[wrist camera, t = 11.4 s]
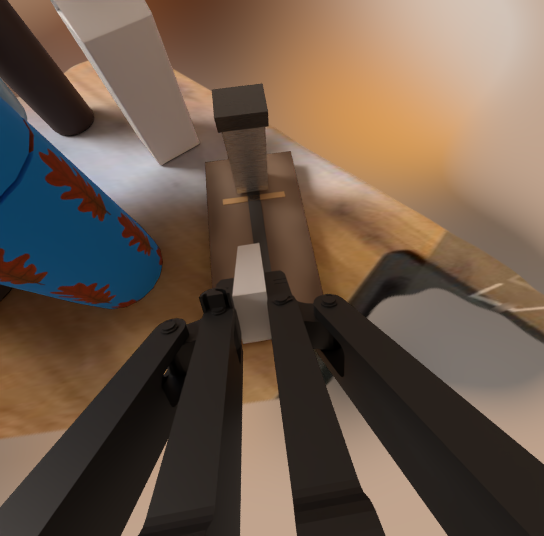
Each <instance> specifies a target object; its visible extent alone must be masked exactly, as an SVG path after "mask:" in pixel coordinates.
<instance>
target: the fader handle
mask: <svg viewBox="0 0 544 536" xmlns="http://www.w3.org/2000/svg"><path fill="white" fill-rule="evenodd" d="M212 98H213V110H214V119H215V123H216V127H217V130H218V133H220V132H222V135H223V139H224V143H225V147H226V151H227V155H228V159H229V163H230V166H231V170H232V174H233V178H234V182H235V186H236V190H237V194H239V193H246V192H254V191H261V190H268V172H267V154H266V137H265V127H267V126H268V109H267V104H266V99H265V94H264V89H263V84H255V85H247V86H238V87H231V88H222V89H214V90H212Z"/></svg>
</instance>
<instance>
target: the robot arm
mask: <svg viewBox="0 0 544 536" xmlns="http://www.w3.org/2000/svg"><path fill="white" fill-rule="evenodd" d="M0 97H1V98H2V99H3V100H4V101H6V102H7V103H8V104H9V105H10V106H11V107H12V108H13V109H14V110H15V111H16V112H17V113H19V114H20V116H21V117H22V118H24V119H25V120H26V121H27V115H26V112H25V110H24V108H23V106H22V105H21V104H20V102H19V101H18V99H17V98H16V97H15V96H14V94H13V93H12V92H11V90H10V89H9V88H8V87H7V86H6V84H5V83H4V82H3V81H2V79H1V78H0ZM11 288H12V287H9V286H5V285H1V284H0V300H1V299H2V298H3V297H4V296H5V295H6V294H7V293H8V292H9V291H10V289H11ZM199 299H200V303H201V306H202V309H203V312H204V314H203V317H202V318H201V319H200V320H198V321H195V322H192V323H190V324H187V325H186V322H185V321H184V320H183V319H179V318H176V319H170V320H167V321H165V322H163V323H161V324H160V325H159V326H157V327H156V328H155V329H154V330H153V332H152V333H151V334H150V335H149V336H148V337H147V339H146V340H145V341H144V342H143V343H142V344H141V345H140V347H139V348H138V349H137V350H136V351H135V352H134V354H133V355H132V356H131V357H130V358H129V359H128V360H127V362H126V363H125V364H124V365H123V366H122V367H121V369H120V370H119V371H118V372H117V373H116V374H115V375H114V377H113V378H112V379H111V380H110V381H109V382H108V384H107V385H106V386H105V387H104V388H103V389H102V390H101V392H100V393H99V394H98V395H97V396H96V397H95V399H94V400H93V401H92V402H91V403H90V404H89V405H88V407H87V408H86V409H85V410H84V411H83V412H82V413H81V415H80V416H79V417H78V418H77V419H76V420H75V422H74V423H73V424H72V425H71V426H70V427H69V428H68V430H67V431H66V432H65V433H64V434H63V435H62V437H61V438H60V439H59V440H58V441H57V442H56V443H55V445H54V446H53V447H52V448H51V449H50V451H49V452H48V453H47V454H46V455H45V456H44V457H43V458H42V460H41V461H40V462H39V463H38V464H37V465H36V467H35V468H34V469H33V470H32V471H31V472H30V473H29V475H28V476H27V477H26V478H25V479H24V480H23V482H22V483H21V484H20V485H19V486H18V487H17V488H16V490H15V491H14V492H13V493H12V494H11V495H10V497H9V498H8V499H7V500H6V501H5V502H4V503H3V505H2V506H1V507H0V536H121V534H122V532H123V530H124V528H125V526H126V524H127V522H128V520H129V518H130V516H131V513H132V512H133V509H134V507H135V505H136V503H137V501H138V499H139V497H140V495H141V493H142V491H143V489H144V487H145V485H146V483H147V481H148V479H149V477H150V475H151V473H152V470H153V468H154V466H155V465H156V462H157V460H158V458H159V456H160V454H161V452H162V450H163V448H164V446H165V444H166V442H167V440H168V442H167V446H166V449H165V453H164V456H163V460H162V463H161V467H160V471H159V474H158V477H157V481H156V485H155V489H154V492H153V496H152V499H151V503H150V506H149V509H148V513H147V517H146V520H145V523H144V525H143V528H142V530H141V532H140V534H139V535H138V536H240V503H241V502H240V501H241V445H242V444H241V442H242V389H243V349H242V345H241V337H242V342H243V344H245V343H251V342H257V341H264V340H270V339H272V346H273V353H274V361H275V368H276V376H277V383H278V391H279V398H280V405H281V413H282V421H283V429H284V436H285V443H286V451H287V458H288V466H289V473H290V481H291V489H292V496H293V504H294V515H295V523H296V531H297V536H385V533H384V531H383V528H382V525H381V523H380V521H379V518H378V515H377V513H376V511H375V508H374V506H373V504H372V502H371V501H370V499H369V498H368V497H367V496H366V494H365V493H364V492H363V490H362V488H361V486H360V483H359V480H358V478H357V475H356V472H355V469H354V466H353V463H352V460H351V457H350V455H349V452H348V449H347V446H346V443H345V440H344V437H343V434H342V431H341V429H340V426H339V423H338V420H337V417H336V414H335V411H334V408H333V405H332V402H331V400H330V397H329V394H328V391H327V388H326V385H325V382H324V379H323V376H322V373H321V370H320V368H319V365H318V362H317V359H316V356H315V353H314V350H313V349H316V351H317V353H318V355H319V356H320V358H321V359H322V360H323V362H324V363H325V365H326V366H327V367H328V369H329V370H330V372H331V373H332V374H333V376H334V377H335V379H336V380H337V381H338V383H339V384H340V386H341V387H342V388H343V390H344V391H345V392H346V394H347V395H348V397H349V398H350V400H351V401H352V402H353V404H354V405H355V406H356V408H357V409H358V411H359V412H360V413H361V415H362V416H363V418H364V419H365V420H366V422H367V423H368V425H369V426H370V427H371V429H372V430H373V432H374V433H375V434H376V436H377V437H378V439H379V440H380V441H381V443H382V444H383V446H384V447H385V448H386V450H387V451H388V452H389V454H390V455H391V457H392V458H393V459H394V461H395V462H396V464H397V465H398V466H399V468H400V469H401V470H402V472H403V474H404V475H405V476H406V478H407V479H408V480H409V482H410V483H411V485H412V486H413V487H414V489H415V490H416V491H417V493H418V494H419V496H420V497H421V499H422V500H423V501H424V503H425V504H426V506H427V507H428V508H429V510H430V511H431V513H432V514H433V515H434V517H435V518H436V520H437V521H438V522H439V524H440V525H441V527H442V528H443V529H444V531H445V532H446V534H447V535H448V536H544V464H542V463H541V462H540V461H539V460H538V459H537V458H535V457H534V456H533V455H532V454H530V453H529V452H528V451H527V450H526V449H524V448H523V447H522V446H521V445H520V444H518V443H517V442H516V441H515V440H513V439H512V438H511V437H510V436H509V435H507V434H506V433H505V432H504V431H503V430H501V429H500V428H499V427H498V426H497V425H495V424H494V423H493V422H492V421H491V420H489V419H488V418H487V417H486V416H484V415H483V414H482V413H481V412H480V411H478V410H477V409H476V408H475V407H474V406H472V405H471V404H470V403H469V402H467V401H466V400H465V399H464V398H463V397H461V396H460V395H459V394H458V393H457V392H455V391H454V390H453V389H452V388H451V387H449V386H448V385H447V384H446V383H444V382H443V381H442V380H441V379H440V378H438V377H437V376H436V375H435V374H433V373H432V372H431V371H430V370H429V369H427V368H426V367H425V366H424V365H422V364H421V363H420V362H419V361H418V360H417V359H415V358H414V357H413V356H412V355H411V354H409V353H408V352H407V351H406V350H404V349H403V348H402V347H401V346H400V345H398V344H397V343H396V342H395V341H394V340H392V339H391V338H390V337H389V336H387V335H386V334H385V333H384V332H383V331H381V330H380V329H379V328H378V327H377V326H375V325H374V324H373V323H372V322H371V321H369V320H368V319H367V318H366V317H364V316H363V315H362V314H361V313H360V312H358V311H357V310H356V309H355V308H354V307H352V306H351V305H350V304H349V303H347V302H346V301H345V300H344V299H343V298H341V297H339V296H337V295H333V294H325V295H320V296H318V297H316V298H315V299H314V303H303V302H299V301H297V300H296V298H295V297H294V296H293V295H292V293H291V290H290V287H289V284H288V281H287V278H286V275H285V273H284V272H282V271H281V270H278V271H271V272H265V273H264V271H263V265H262V258H261V252H260V245H259V243H256V244H249V245H242V246H238V249H237V258H236V267H235V276H234V278H229V279H222V280H220V281H219V282H218V283H217V284H216V288H212V289H209V290H207V291H205V292H204V293H202V294H201V295H200V297H199ZM166 369H168V370H167V372H166V373H165V371H166ZM164 373H165V374H164Z"/></svg>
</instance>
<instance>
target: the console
mask: <svg viewBox="0 0 544 536" xmlns="http://www.w3.org/2000/svg"><path fill="white" fill-rule="evenodd" d="M205 171H206V188H207V206H208V223H209V240H210V257H211V275H212V288H216V284H217V283H218V282H219V281H220V280H222V279H229V278H234V276H235V267H236V258H237V249H238V246H242V245H249V244H256V243H259V245H260V252H261V258H262V265H263V271H264V273H265V272H271V271H278V270H281V271H282V272H284V273H285V275H286V278H287V281H288V284H289V287H290V290H291V293H292V295H293V296H294V297H295V298H296V300H297V301H299V302H303V303H314V299H315V298H316V297H318V296H320V295H323V292H322V287H321V283H320V279H319V274H318V270H317V265H316V261H315V256H314V252H313V248H312V243H311V239H310V234H309V230H308V226H307V221H306V217H305V212H304V208H303V203H302V199H301V195H300V190H299V186H298V181H297V177H296V173H295V168H294V164H293V159H292V155H291V151H288V152H281V153H273V154H267V172H268V190H261V191H254V192H246V193H239V194H237V190H236V186H235V182H234V178H233V174H232V170H231V166H230V163H229V159H227V160H219V161H212V162H205ZM241 340H242V337H241Z"/></svg>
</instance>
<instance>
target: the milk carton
mask: <svg viewBox="0 0 544 536" xmlns="http://www.w3.org/2000/svg"><path fill="white" fill-rule="evenodd" d="M51 2H52V4H53V5H54V7H55V9H56V11H57V12H58V14H59V15H60V17H61V18H62V20H63V21H64V23H65V24H66V26H67V28H68V29H69V31H70V32H71V34H72V35H73V37H74V38H75V40H76V41H77V43H78V45H79V46H80V48H81V49H82V51H83V52H84V54H85V55H86V57H87V59H88V60H89V62H90V63H91V65H92V66H93V68H94V69H95V71H96V73H97V74H98V76H99V77H100V79H101V80H102V82H103V83H104V85H105V86H106V88H107V90H108V91H109V93H110V94H111V96H112V97H113V99H114V100H115V102H116V103H117V105H118V107H119V108H120V110H121V111H122V113H123V114H124V116H125V117H126V119H127V120H128V122H129V124H130V125H131V127H132V128H133V130H134V131H135V133H136V134H137V136H138V137H139V139H140V140H141V141H142V143H143V144H144V145H145V146H146V148H147V149H148V150H149V152H150V153H151V154H152V156H153V157H154V158H155V159H156V161H157V162H158V163H159V165H163V164H164V163H166V162H168V161H170V160H172V159H173V158H175V157H177V156H179V155H180V154H182V153H184V152H186V151H188V150H189V149H191V148H193V147H195V146H197V145H198V144H199V143H200V142H199V139H198V137H197V134H196V131H195V129H194V126H193V123H192V121H191V118H190V115H189V112H188V110H187V107H186V104H185V102H184V99H183V96H182V94H181V91H180V88H179V86H178V83H177V80H176V77H175V75H174V72H173V69H172V67H171V64H170V62H169V59H168V56H167V53H166V51H165V48H164V45H163V42H162V40H161V37H160V35H159V32H158V29H157V26H156V24H155V21H154V18H153V16H152V13H151V11H150V9H149V7H148V6H147V4H146V3H145V0H51Z"/></svg>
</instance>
